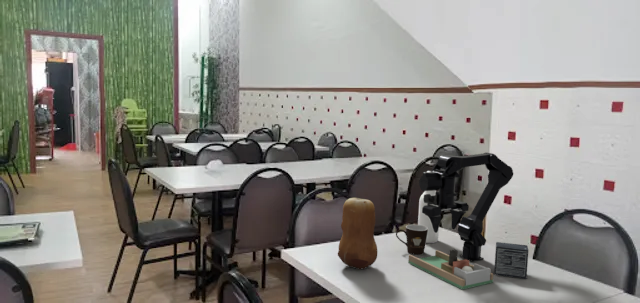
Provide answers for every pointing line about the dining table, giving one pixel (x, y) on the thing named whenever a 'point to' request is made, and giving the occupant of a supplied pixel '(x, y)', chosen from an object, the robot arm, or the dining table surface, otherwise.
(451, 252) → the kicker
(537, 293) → the dining table surface
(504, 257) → the small box
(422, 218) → the alcohol
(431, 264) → the tray
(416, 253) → the coffee mug
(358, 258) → the butternut squash
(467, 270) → the ball
